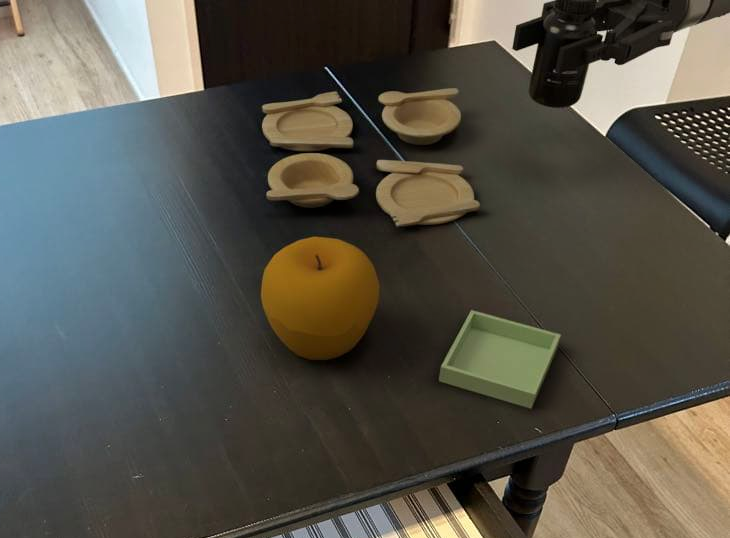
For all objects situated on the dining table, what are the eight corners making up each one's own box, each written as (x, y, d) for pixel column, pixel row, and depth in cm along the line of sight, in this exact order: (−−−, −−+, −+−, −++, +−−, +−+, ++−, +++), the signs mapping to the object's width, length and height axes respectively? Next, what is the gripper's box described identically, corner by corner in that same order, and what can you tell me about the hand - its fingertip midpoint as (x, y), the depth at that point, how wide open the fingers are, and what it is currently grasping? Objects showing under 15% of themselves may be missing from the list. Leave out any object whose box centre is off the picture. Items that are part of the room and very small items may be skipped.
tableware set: (263, 106, 127) (261, 78, 124) (451, 103, 128) (454, 75, 125) (259, 239, 107) (257, 210, 103) (484, 235, 107) (489, 206, 104)
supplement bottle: (552, 114, 104) (574, 9, 95) (517, 93, 108) (535, -11, 98) (592, 100, 107) (618, -4, 97) (556, 79, 110) (578, -23, 100)
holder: (555, 351, 94) (561, 334, 92) (530, 411, 88) (535, 394, 86) (468, 327, 96) (471, 309, 94) (438, 383, 91) (440, 366, 89)
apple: (248, 322, 97) (240, 236, 88) (348, 294, 100) (350, 208, 91) (290, 392, 90) (287, 306, 81) (396, 359, 93) (404, 273, 84)
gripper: (714, 61, 106) (589, 113, 98) (601, 9, 116) (478, 52, 108) (738, -4, 100) (606, 45, 92) (616, -54, 110) (487, -13, 102)
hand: (537, 49), depth 100 cm, fingers closed on supplement bottle, 7 cm apart
